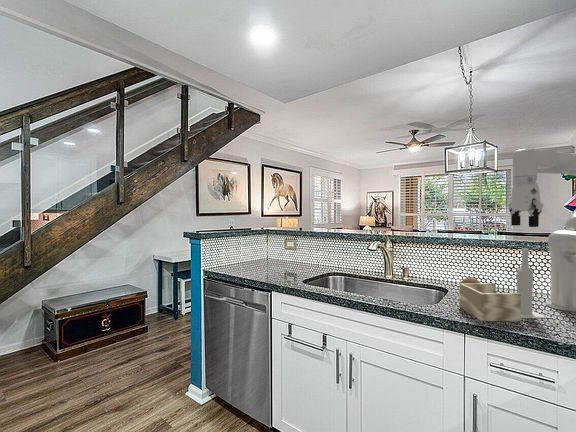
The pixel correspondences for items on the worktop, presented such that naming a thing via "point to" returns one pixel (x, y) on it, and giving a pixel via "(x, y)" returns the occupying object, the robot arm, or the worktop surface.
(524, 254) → the bottle
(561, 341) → the worktop surface
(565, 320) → the worktop surface
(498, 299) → the open side box
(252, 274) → the worktop surface
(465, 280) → the natural sponge
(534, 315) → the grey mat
